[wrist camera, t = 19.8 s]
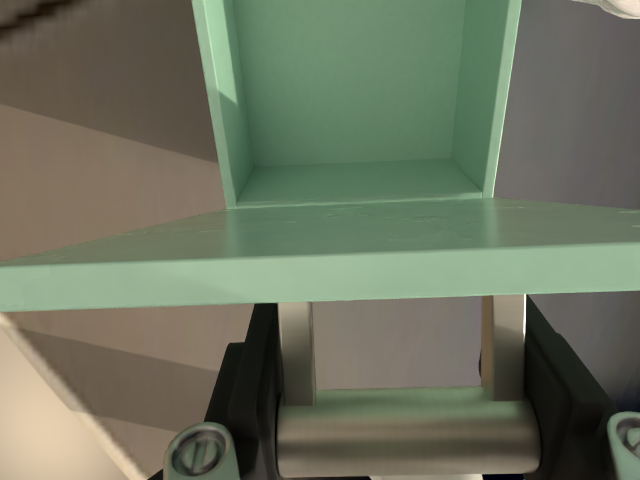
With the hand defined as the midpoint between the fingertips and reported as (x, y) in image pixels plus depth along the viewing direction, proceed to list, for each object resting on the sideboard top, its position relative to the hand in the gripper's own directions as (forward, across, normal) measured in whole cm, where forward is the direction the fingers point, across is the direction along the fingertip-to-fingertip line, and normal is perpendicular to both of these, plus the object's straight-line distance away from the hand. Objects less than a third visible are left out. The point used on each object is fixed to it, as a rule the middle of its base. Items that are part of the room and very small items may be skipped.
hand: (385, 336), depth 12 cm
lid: (+4, 0, -2) cm, 5 cm away
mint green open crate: (+19, 0, -6) cm, 20 cm away
